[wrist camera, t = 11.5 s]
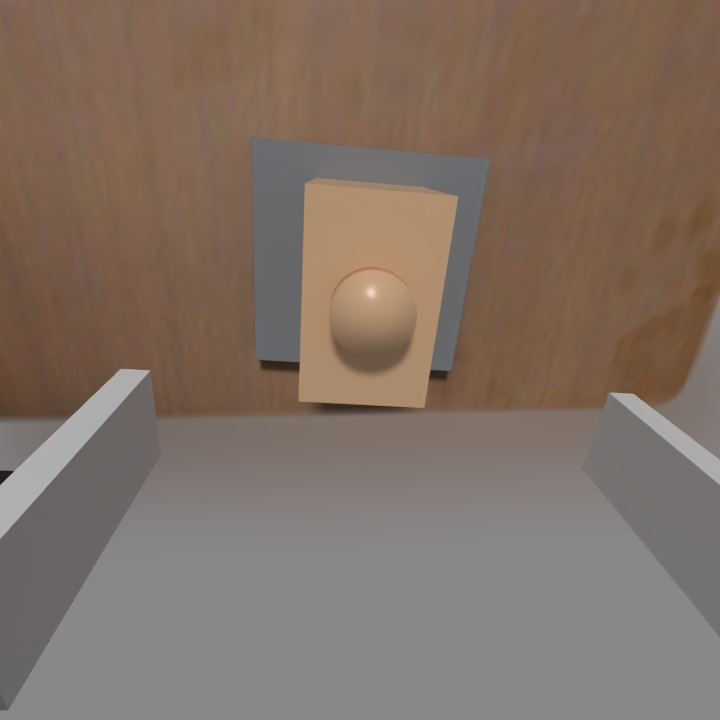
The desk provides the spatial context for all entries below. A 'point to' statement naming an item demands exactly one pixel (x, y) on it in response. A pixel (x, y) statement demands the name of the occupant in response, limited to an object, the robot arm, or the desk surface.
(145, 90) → the desk surface
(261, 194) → the grey square plate
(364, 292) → the tan block with dome
